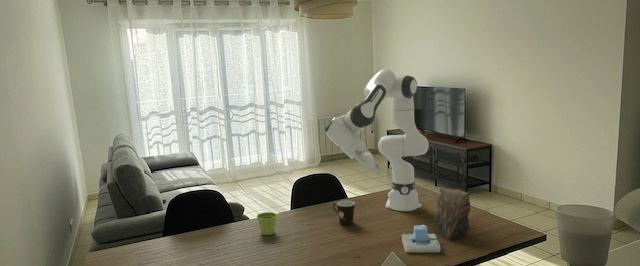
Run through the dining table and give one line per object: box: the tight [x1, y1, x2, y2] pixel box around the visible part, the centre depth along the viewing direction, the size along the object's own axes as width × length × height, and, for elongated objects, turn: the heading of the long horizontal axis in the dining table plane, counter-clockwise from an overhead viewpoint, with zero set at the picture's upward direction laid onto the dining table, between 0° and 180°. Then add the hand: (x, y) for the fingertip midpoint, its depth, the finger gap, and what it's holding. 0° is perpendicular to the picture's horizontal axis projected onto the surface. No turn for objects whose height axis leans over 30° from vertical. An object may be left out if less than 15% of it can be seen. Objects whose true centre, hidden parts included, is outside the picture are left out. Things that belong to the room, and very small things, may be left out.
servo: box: [411, 224, 431, 243], centre depth 186 cm, size 4×8×9 cm, turn 86°
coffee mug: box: [332, 200, 356, 226], centre depth 216 cm, size 12×9×10 cm
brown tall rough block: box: [434, 188, 471, 242], centre depth 197 cm, size 13×13×20 cm
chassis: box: [401, 233, 441, 253], centre depth 186 cm, size 12×14×3 cm
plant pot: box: [256, 211, 278, 236], centre depth 206 cm, size 9×9×9 cm
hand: (379, 171), depth 188 cm, fingers open, 8 cm apart
